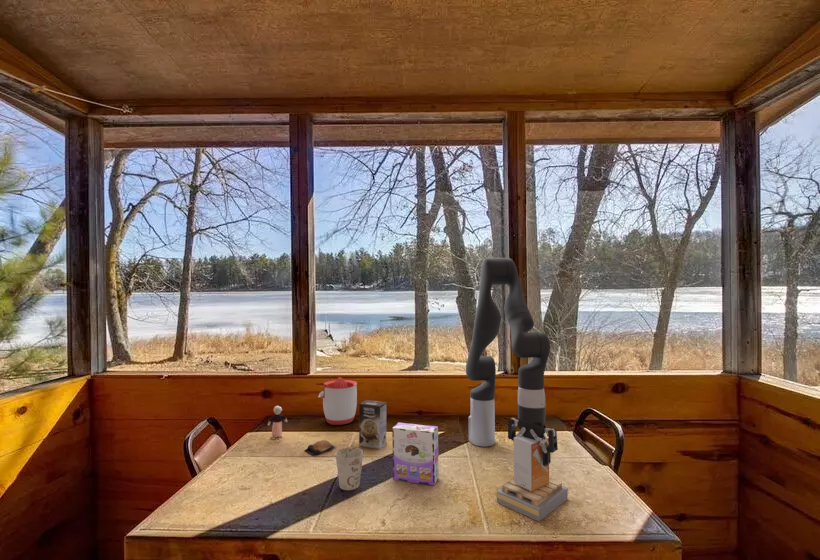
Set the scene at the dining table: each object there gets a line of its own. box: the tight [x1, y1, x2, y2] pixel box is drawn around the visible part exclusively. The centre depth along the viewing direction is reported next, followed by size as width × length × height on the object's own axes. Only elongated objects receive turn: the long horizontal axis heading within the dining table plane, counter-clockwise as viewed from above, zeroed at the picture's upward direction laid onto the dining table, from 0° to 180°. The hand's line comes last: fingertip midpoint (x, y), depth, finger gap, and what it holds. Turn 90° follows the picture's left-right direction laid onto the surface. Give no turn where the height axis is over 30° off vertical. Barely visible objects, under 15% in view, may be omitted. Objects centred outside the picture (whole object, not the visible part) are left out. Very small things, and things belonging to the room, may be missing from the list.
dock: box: [495, 485, 569, 522], centre depth 113 cm, size 13×16×3 cm
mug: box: [335, 446, 364, 491], centre depth 124 cm, size 8×13×10 cm, turn 27°
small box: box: [513, 435, 550, 492], centre depth 113 cm, size 8×6×13 cm
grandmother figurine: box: [267, 405, 288, 440], centre depth 162 cm, size 8×4×13 cm, turn 129°
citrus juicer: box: [318, 376, 358, 426], centre depth 180 cm, size 16×17×20 cm
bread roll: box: [304, 439, 337, 457], centre depth 149 cm, size 11×8×4 cm
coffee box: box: [358, 399, 388, 450], centre depth 154 cm, size 9×6×16 cm
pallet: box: [501, 477, 563, 506], centre depth 113 cm, size 11×14×2 cm
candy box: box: [391, 422, 440, 486], centre depth 126 cm, size 14×6×16 cm, turn 71°
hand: (531, 460), depth 113 cm, fingers open, 8 cm apart
